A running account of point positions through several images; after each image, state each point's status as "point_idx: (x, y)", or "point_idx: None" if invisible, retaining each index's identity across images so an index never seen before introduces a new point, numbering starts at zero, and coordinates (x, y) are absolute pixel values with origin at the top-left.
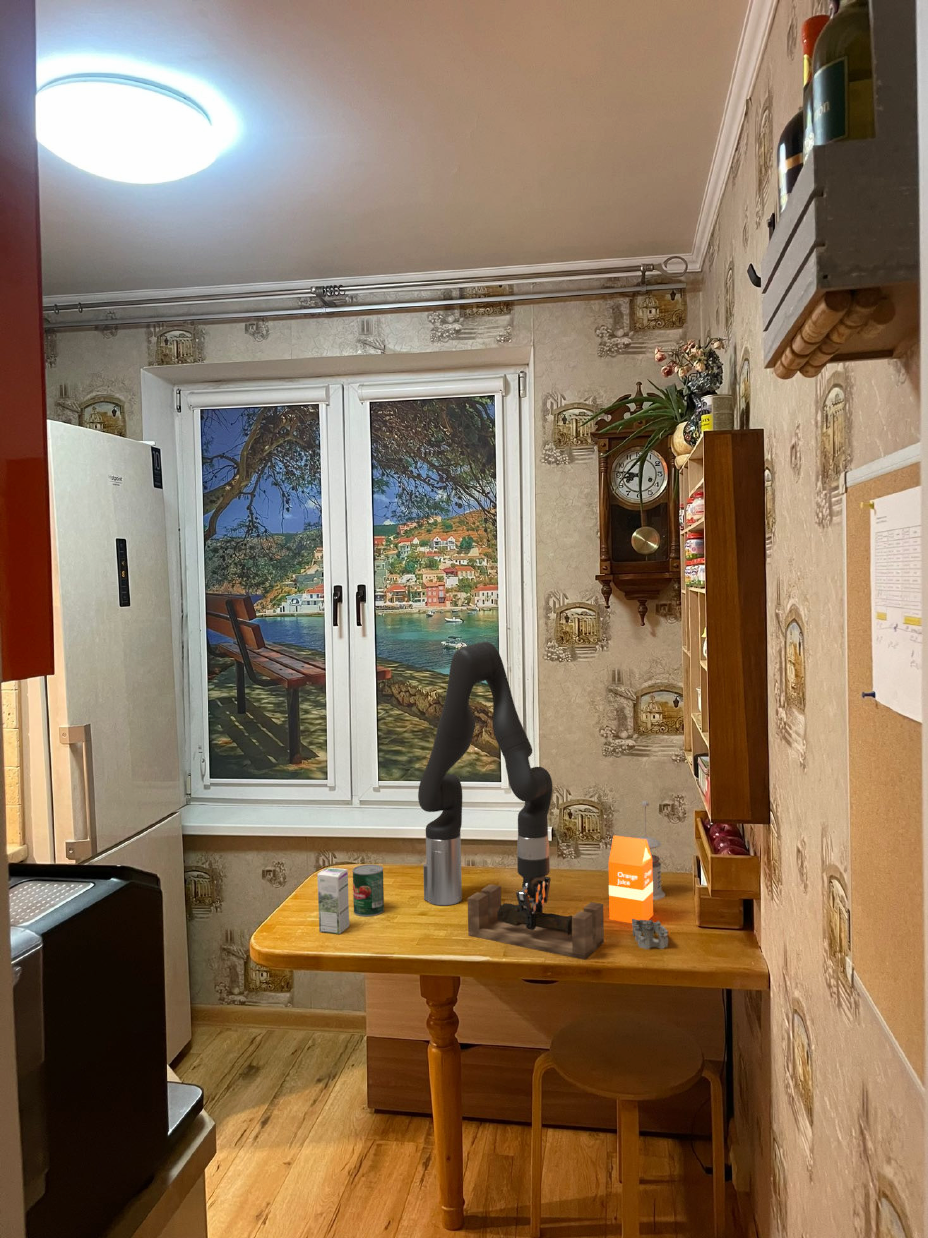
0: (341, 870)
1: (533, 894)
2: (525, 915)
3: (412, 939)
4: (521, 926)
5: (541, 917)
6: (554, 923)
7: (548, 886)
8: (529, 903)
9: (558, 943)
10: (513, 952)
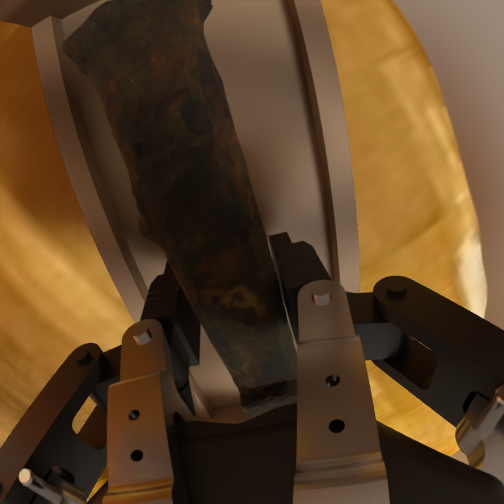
0: None
1: (384, 439)
2: (291, 335)
3: (414, 414)
4: (200, 337)
5: (258, 235)
6: (229, 108)
7: (19, 446)
8: (459, 338)
9: (243, 67)
10: (403, 208)
